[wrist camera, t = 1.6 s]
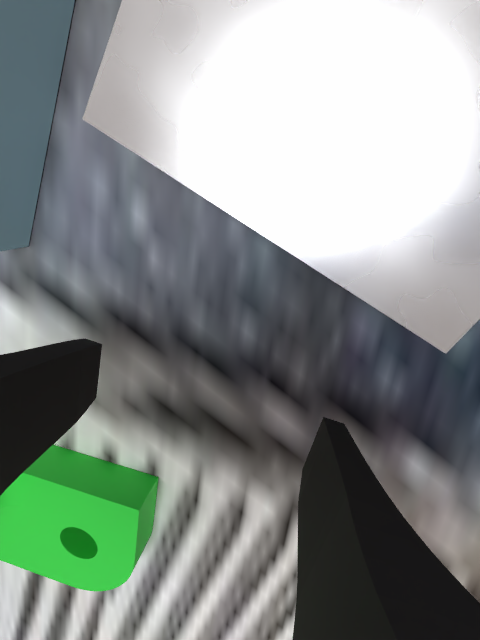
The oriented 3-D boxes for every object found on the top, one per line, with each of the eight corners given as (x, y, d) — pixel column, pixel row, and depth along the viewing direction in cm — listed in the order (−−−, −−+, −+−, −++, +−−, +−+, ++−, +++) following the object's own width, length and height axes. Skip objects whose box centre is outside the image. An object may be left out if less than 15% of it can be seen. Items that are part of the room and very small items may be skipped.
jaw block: (604, 85, 9) (769, 21, 6) (410, 309, 12) (445, 353, 8) (263, -133, 9) (230, -323, 6) (149, 140, 12) (82, 119, 8)
